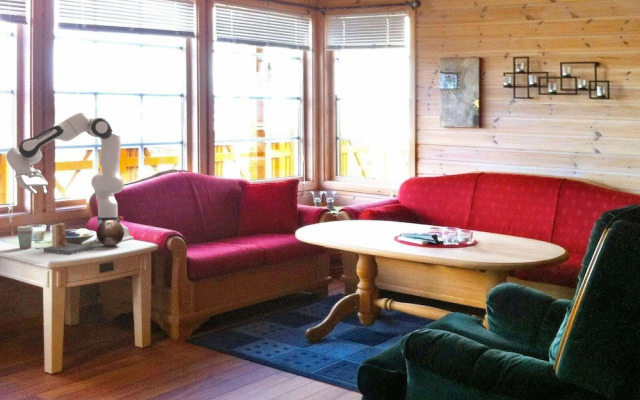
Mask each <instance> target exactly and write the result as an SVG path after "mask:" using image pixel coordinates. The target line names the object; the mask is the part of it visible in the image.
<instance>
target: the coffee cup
mask: <svg viewBox="0 0 640 400" xmlns="http://www.w3.org/2000/svg"><path fill="white" fill-rule="evenodd" d="M16 231H17V239H18V245H19V249H20V250H28V249H31V248H32V244H33V242H32V241H33V233H34V232H33V231H34V228H33V225H19V226H17V229H16Z"/></svg>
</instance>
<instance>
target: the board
mask: <svg viewBox="0 0 640 400" xmlns="http://www.w3.org/2000/svg"><path fill="white" fill-rule="evenodd" d="M42 249H43V252H44V253H51V252H59V253H58V254H60V253H67V254H66V255H70V254H71V255H73V254H72V253H75V254H77V252H79V253H82V252H85V251H90V250H92V249H93V245H89V244H80V243H68V242H66V245H64V246H59V247H52V245H50V246H47V247H43V248H42Z"/></svg>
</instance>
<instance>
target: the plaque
mask: <svg viewBox="0 0 640 400" xmlns="http://www.w3.org/2000/svg"><path fill="white" fill-rule="evenodd" d="M51 237H52V239H51V241H52V245H51V246H52V247H59V246H64V245H66V243H67V238H66V223H63V222H61V223H56V224H52V225H51Z"/></svg>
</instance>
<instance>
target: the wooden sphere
mask: <svg viewBox="0 0 640 400" xmlns="http://www.w3.org/2000/svg"><path fill="white" fill-rule="evenodd" d="M120 223H121V222H120ZM120 223H119V222H117V221H115V220H105V221H103V222H102V223H101V224H100V225H99V226H98V225H97V228H96V232H95V233H96V238H98V240H99V241H100V242H99V243H101V245H104V246H105V247H114V246H115V247H116V246H117V245H119V244H120V243H122V242H121V240H122V239H123V236H124V229H123V227H122V225H121V224H120Z"/></svg>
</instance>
